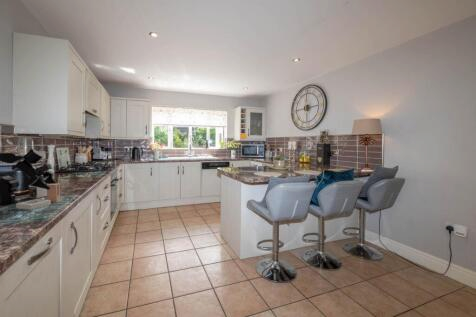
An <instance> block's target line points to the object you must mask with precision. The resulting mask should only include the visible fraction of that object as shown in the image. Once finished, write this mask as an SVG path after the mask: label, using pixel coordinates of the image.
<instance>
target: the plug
mask: <svg viewBox="0 0 476 317" xmlns="http://www.w3.org/2000/svg"><path fill="white" fill-rule="evenodd" d="M47 185H48V186H49V188H50V189H49V190H48V189H47V196H46V200H51V203H56V202H59V201H61V188H60V187H61V186H60V185H61V184H60V182H59V183H58V182H57V183H56V184H47Z"/></svg>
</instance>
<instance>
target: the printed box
mask: <svg viewBox="0 0 476 317" xmlns="http://www.w3.org/2000/svg"><path fill="white" fill-rule="evenodd" d="M44 183H45V182H44ZM45 184H46V183H45ZM28 197H29V198H32V199H41V198H44V197H47V189H43V188H39V187H35V186H31V185H30V186H28Z"/></svg>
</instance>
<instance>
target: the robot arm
mask: <svg viewBox="0 0 476 317" xmlns="http://www.w3.org/2000/svg"><path fill="white" fill-rule="evenodd" d="M44 157H45V155H44V154H43V153H42V152H40V151H38V150H36V149H34V148H31V149H30V150H29V151H28V152H27V153H25V154H21V153H20V152H13V151H12V152H0V162H2V163H6V164H12V165H11V170H12V171H15V170H17V169H18V170H19V171H20V172H22V173H23V174H24V177H28V178H27V179H26V180H25V185H27V186H28V187H29V186H35V187H39V188H43V189H48V190H49V189H50V188H49V186H48V185H49V184H57V182H56V180H55V179H54V172H53V171H51V169H53V167H52V166H53V165H52V164H51V163H48V162H46V163H44V164H43V165H42V166H34V165H36V164H38V162H39V161H41V160H42V159H43V158H44ZM14 163H15V164H14ZM33 164H34V165H33ZM44 182H45V183H44ZM19 186H20V182H19V180H18V179H17V177H12V176H10V175H5V176H0V206H8V205H12V204H14V203H17V202H18V201H17V200H16V194H15V192H16V190H17V188H19Z"/></svg>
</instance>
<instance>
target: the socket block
mask: <svg viewBox="0 0 476 317" xmlns="http://www.w3.org/2000/svg"><path fill="white" fill-rule="evenodd" d="M15 205H16V206H15V207H16V209H17V210H18V209H20V210H30V211H32V210H35V209H36V210H37V209H39V208H42V207H43V208H44V207H47V206H51V205H52V202H51V200H47V199H42V198H33V199H32V200H27V201H22V202H18V203H17V202H16V204H15Z"/></svg>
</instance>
